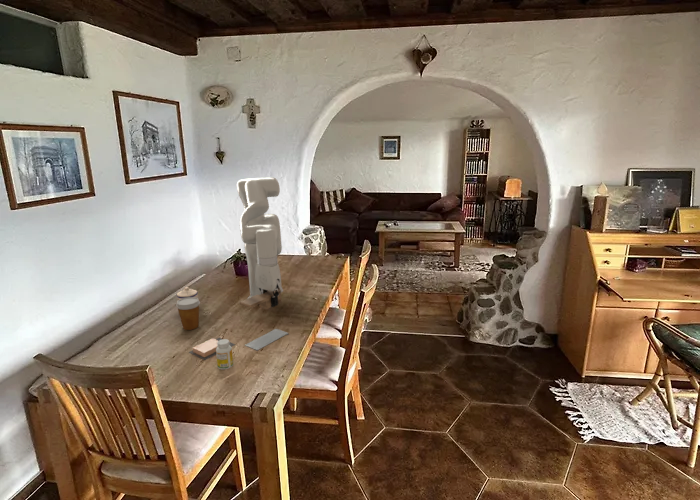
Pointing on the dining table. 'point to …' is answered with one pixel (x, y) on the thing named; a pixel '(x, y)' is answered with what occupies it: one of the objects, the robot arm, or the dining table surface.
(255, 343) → the rest
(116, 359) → the dining table surface
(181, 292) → the teacup with lid
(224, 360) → the supplement bottle
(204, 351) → the tile
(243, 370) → the dining table surface
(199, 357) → the mat
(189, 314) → the disposable coffee cup
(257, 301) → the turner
